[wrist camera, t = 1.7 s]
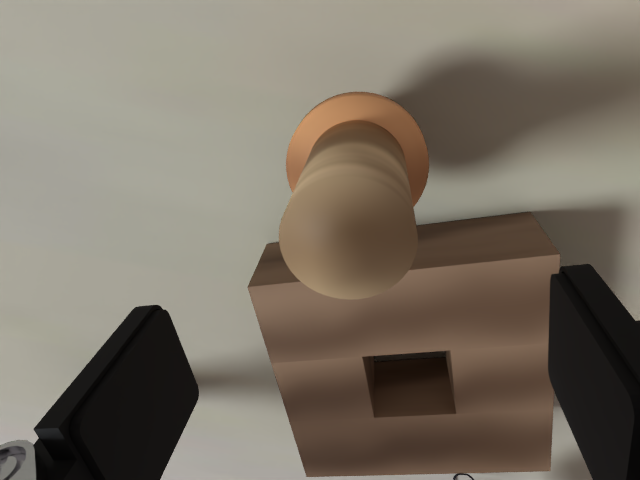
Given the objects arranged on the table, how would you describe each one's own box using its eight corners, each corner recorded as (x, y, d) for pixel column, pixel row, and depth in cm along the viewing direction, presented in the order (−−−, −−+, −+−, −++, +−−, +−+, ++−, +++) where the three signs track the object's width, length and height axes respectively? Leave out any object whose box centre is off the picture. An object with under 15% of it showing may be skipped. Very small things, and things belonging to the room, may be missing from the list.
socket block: (266, 244, 30) (247, 287, 25) (530, 211, 27) (560, 254, 22) (315, 419, 37) (306, 476, 32) (527, 409, 34) (550, 471, 29)
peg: (293, 87, 25) (224, 161, 14) (412, 64, 24) (443, 126, 13) (315, 195, 28) (274, 330, 17) (424, 180, 27) (457, 314, 15)
